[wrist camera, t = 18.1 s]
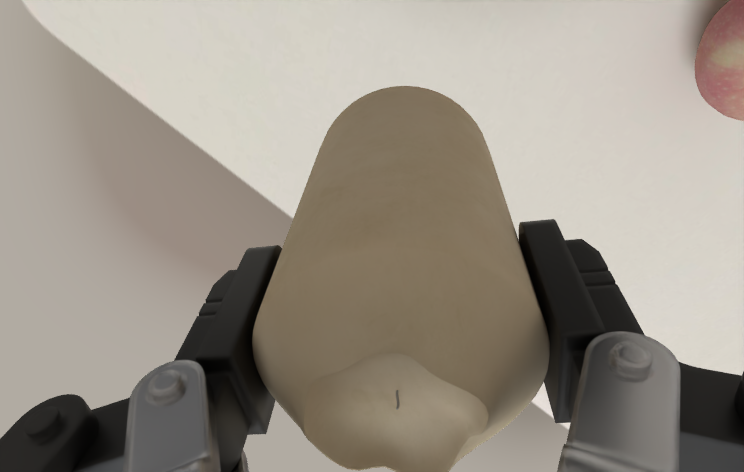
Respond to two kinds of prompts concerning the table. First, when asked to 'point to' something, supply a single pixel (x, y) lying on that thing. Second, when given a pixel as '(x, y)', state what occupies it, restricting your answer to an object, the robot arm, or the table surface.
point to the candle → (401, 292)
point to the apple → (723, 61)
